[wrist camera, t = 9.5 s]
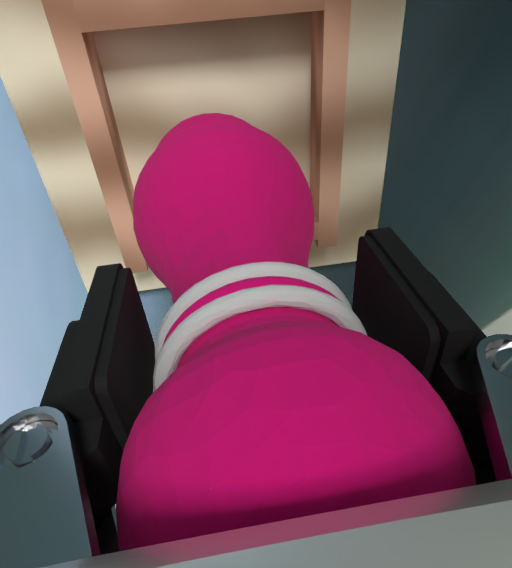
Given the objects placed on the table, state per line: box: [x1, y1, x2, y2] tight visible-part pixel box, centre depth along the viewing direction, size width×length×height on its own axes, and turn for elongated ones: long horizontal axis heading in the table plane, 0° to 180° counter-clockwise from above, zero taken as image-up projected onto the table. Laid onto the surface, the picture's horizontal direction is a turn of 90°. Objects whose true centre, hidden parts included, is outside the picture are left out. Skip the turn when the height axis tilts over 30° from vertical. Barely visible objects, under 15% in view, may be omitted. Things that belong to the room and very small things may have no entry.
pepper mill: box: [116, 113, 476, 551], centre depth 12 cm, size 7×7×20 cm
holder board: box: [0, 0, 406, 293], centre depth 22 cm, size 20×20×3 cm
